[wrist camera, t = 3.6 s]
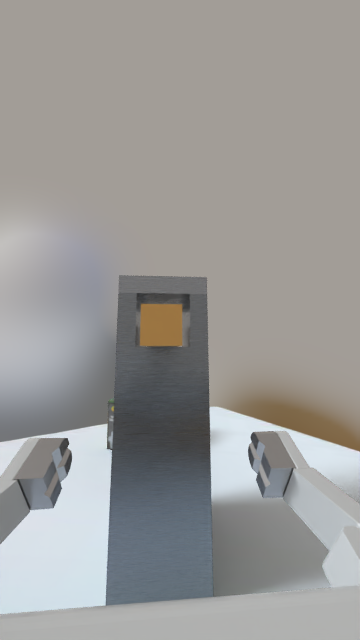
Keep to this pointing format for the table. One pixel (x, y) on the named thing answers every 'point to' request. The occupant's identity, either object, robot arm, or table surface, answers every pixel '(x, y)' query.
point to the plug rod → (161, 325)
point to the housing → (160, 451)
